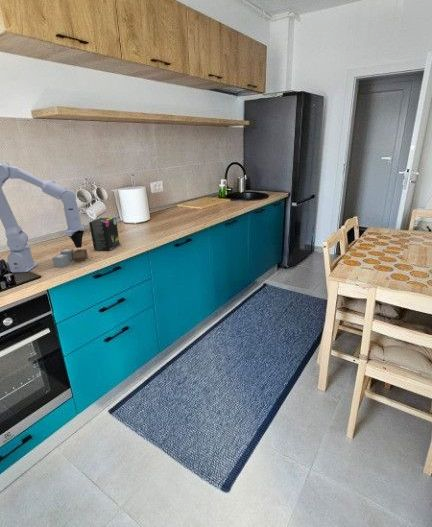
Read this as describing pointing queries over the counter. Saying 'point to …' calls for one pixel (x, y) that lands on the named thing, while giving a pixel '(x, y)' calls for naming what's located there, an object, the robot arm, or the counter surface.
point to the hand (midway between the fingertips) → (78, 247)
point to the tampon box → (104, 234)
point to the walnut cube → (80, 255)
